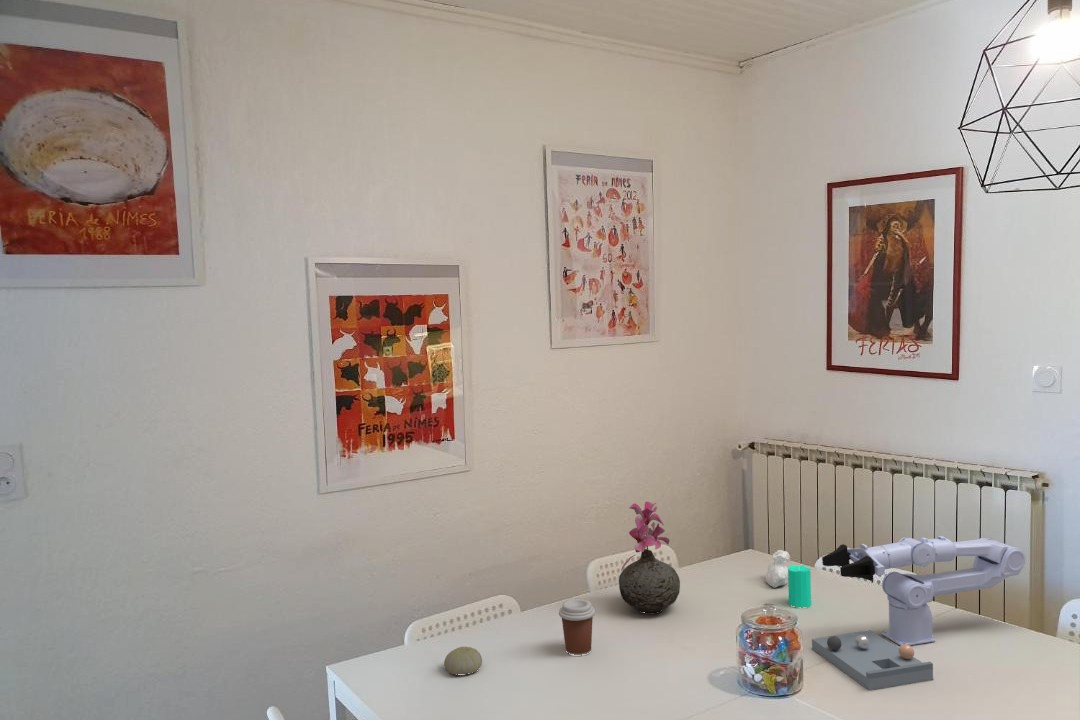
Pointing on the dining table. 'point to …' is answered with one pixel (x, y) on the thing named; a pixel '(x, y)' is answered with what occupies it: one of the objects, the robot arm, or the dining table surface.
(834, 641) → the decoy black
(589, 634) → the coffee cup
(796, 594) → the candle
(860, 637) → the steel ball
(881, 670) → the board
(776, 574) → the bust
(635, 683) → the dining table surface
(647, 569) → the vase
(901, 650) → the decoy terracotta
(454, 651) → the sea urchin shell
